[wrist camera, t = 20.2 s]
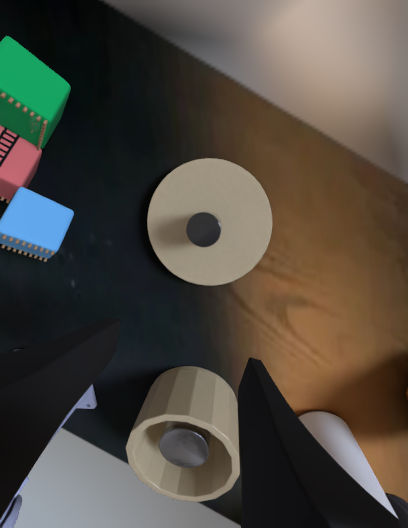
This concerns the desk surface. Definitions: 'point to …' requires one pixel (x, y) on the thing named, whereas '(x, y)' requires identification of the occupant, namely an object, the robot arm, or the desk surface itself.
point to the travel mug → (399, 508)
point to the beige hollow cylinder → (197, 413)
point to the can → (344, 451)
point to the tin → (184, 444)
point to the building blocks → (28, 150)
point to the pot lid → (209, 221)
